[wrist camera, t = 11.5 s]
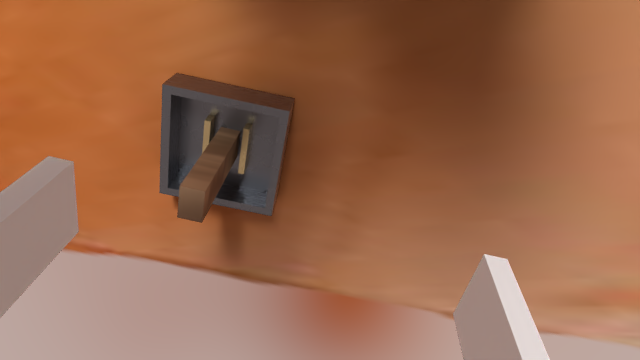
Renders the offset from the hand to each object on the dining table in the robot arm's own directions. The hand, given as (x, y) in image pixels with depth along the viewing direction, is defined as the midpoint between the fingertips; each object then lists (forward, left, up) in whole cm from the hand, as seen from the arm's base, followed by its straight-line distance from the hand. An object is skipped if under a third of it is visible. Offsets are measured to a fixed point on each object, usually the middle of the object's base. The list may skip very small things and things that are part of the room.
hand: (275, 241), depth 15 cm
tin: (+12, -8, -30) cm, 34 cm away
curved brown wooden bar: (+12, -8, -30) cm, 33 cm away
